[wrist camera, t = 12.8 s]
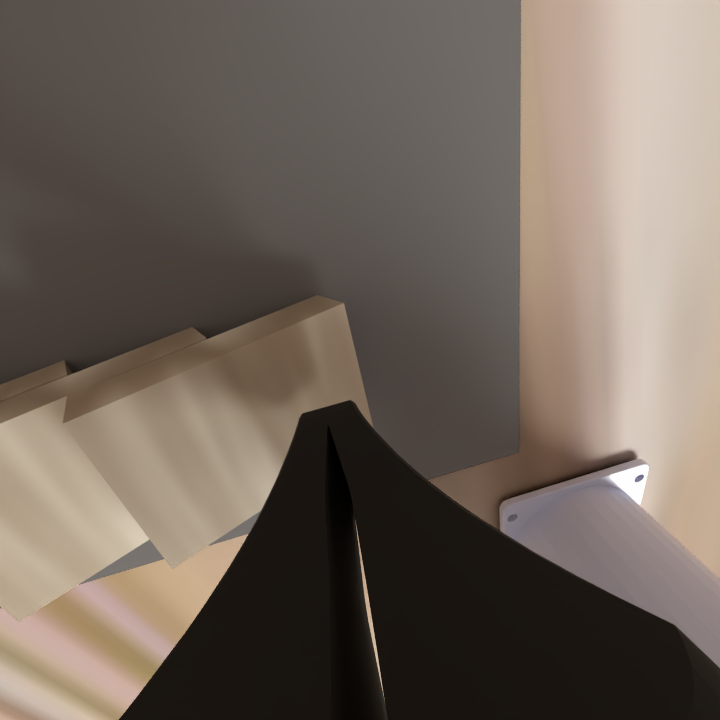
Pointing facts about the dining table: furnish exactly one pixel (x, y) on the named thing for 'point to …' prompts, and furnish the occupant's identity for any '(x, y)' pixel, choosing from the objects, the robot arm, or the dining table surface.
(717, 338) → the dining table surface
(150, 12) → the rubber mat
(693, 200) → the dining table surface
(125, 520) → the domino
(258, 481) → the domino
